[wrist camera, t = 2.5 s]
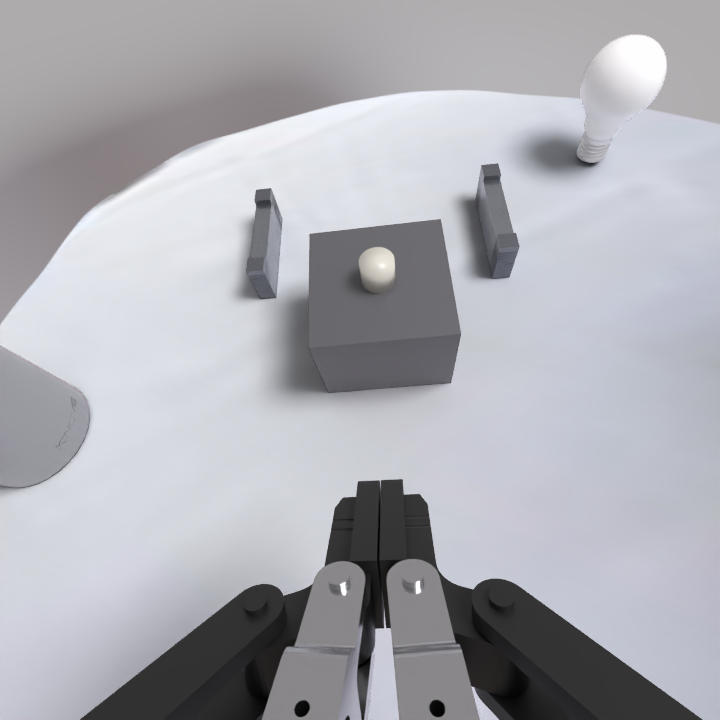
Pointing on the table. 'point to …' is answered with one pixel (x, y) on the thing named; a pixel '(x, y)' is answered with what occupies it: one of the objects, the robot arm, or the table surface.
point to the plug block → (382, 307)
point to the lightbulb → (618, 89)
